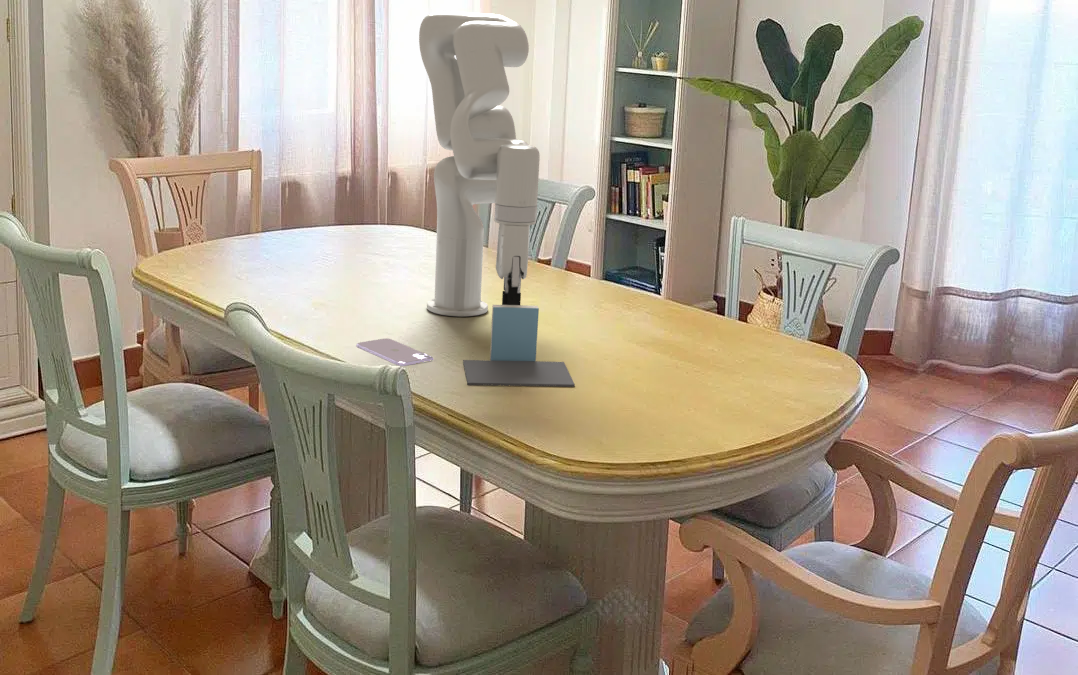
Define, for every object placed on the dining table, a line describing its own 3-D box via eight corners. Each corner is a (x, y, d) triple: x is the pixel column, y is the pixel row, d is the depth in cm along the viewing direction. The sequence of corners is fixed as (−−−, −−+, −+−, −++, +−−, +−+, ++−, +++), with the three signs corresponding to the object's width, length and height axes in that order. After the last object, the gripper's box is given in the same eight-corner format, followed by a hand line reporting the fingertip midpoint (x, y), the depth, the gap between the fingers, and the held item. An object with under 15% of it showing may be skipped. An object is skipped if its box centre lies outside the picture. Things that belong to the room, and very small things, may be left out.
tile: (490, 358, 210) (492, 304, 207) (534, 359, 211) (537, 305, 208) (490, 362, 208) (493, 307, 206) (535, 362, 209) (538, 308, 207)
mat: (462, 362, 207) (463, 359, 207) (563, 364, 209) (563, 361, 209) (467, 385, 195) (467, 382, 195) (574, 386, 197) (574, 384, 197)
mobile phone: (388, 336, 218) (436, 356, 207) (388, 341, 218) (436, 362, 208) (353, 342, 213) (400, 363, 202) (353, 347, 213) (400, 368, 203)
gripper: (491, 206, 217) (487, 303, 222) (498, 220, 203) (493, 323, 208) (531, 208, 218) (526, 304, 223) (541, 222, 204) (535, 324, 209)
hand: (510, 313), depth 215 cm, fingers closed
